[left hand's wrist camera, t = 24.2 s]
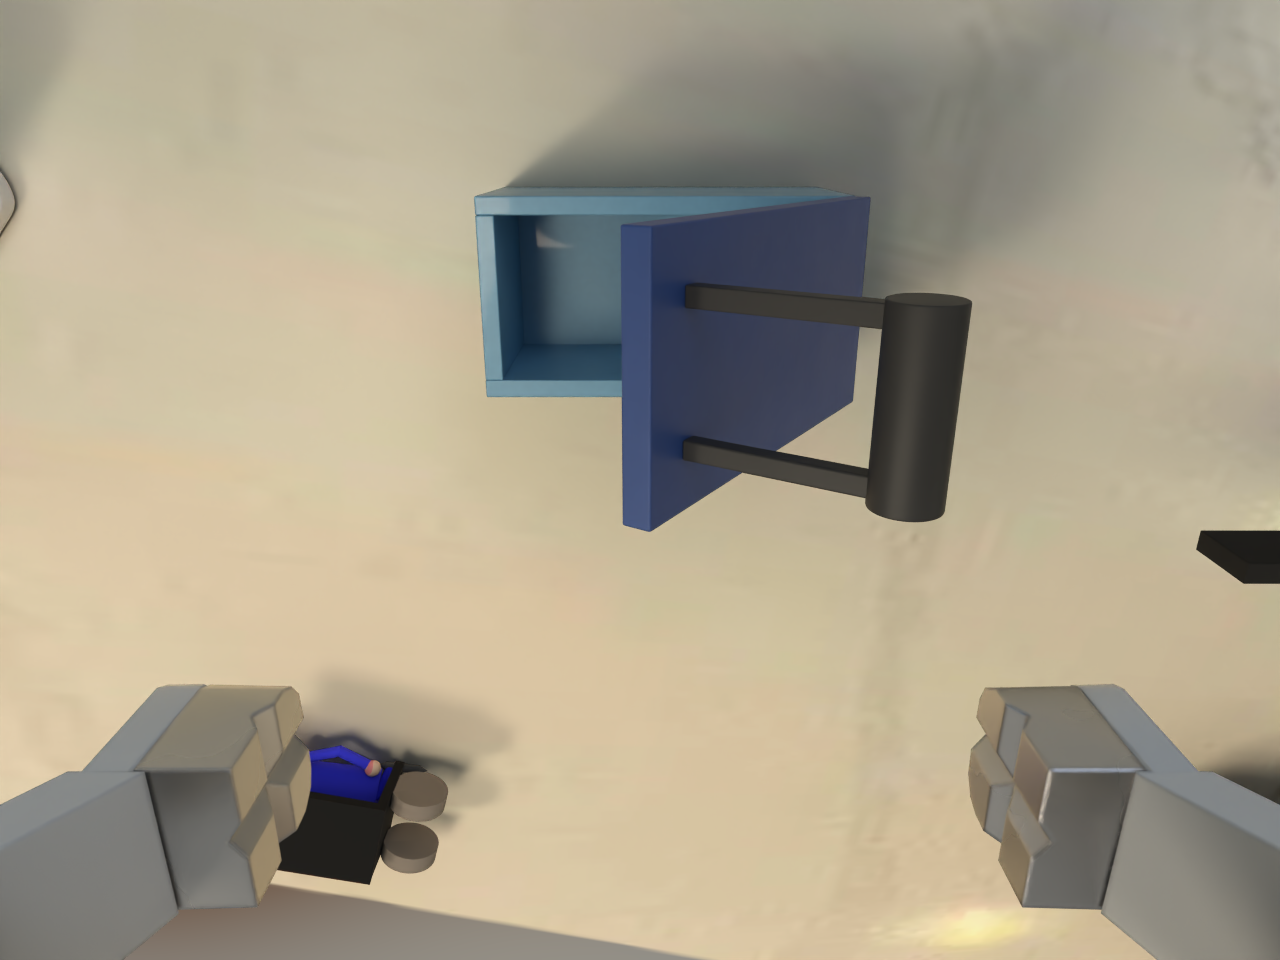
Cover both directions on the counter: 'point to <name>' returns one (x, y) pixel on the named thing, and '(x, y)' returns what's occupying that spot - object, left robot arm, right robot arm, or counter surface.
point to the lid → (777, 360)
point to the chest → (574, 277)
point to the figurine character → (364, 818)
